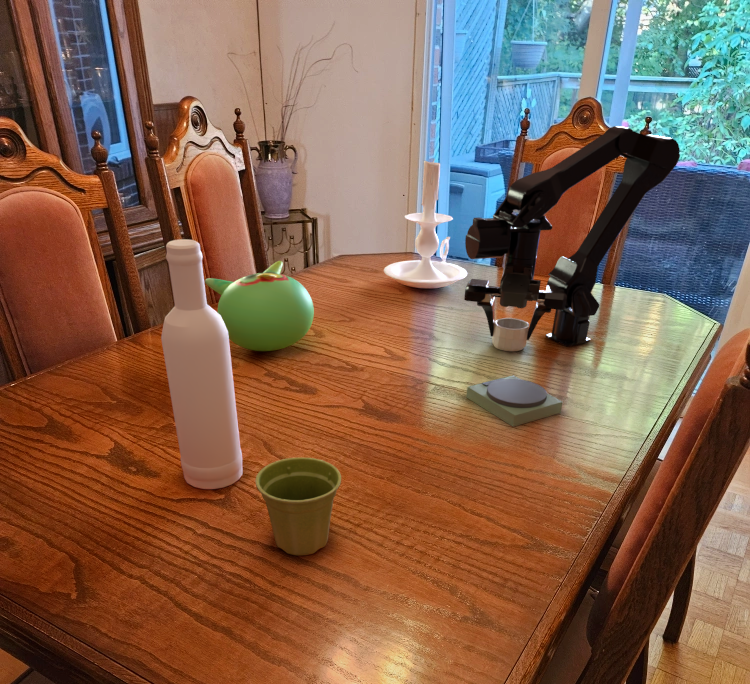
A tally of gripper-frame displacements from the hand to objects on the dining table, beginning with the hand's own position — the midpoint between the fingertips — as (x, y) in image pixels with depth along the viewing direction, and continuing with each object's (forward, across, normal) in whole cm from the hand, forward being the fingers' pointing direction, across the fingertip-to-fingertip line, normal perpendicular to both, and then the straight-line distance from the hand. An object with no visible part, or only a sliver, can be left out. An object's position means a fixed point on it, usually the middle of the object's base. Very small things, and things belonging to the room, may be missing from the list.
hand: (509, 337), depth 131 cm
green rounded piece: (+2, -45, -14) cm, 47 cm away
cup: (+2, 0, 0) cm, 2 cm away
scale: (+2, +3, -27) cm, 27 cm away
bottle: (+2, -35, -60) cm, 69 cm away
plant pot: (+2, -18, -71) cm, 73 cm away
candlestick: (+2, -23, +39) cm, 45 cm away
